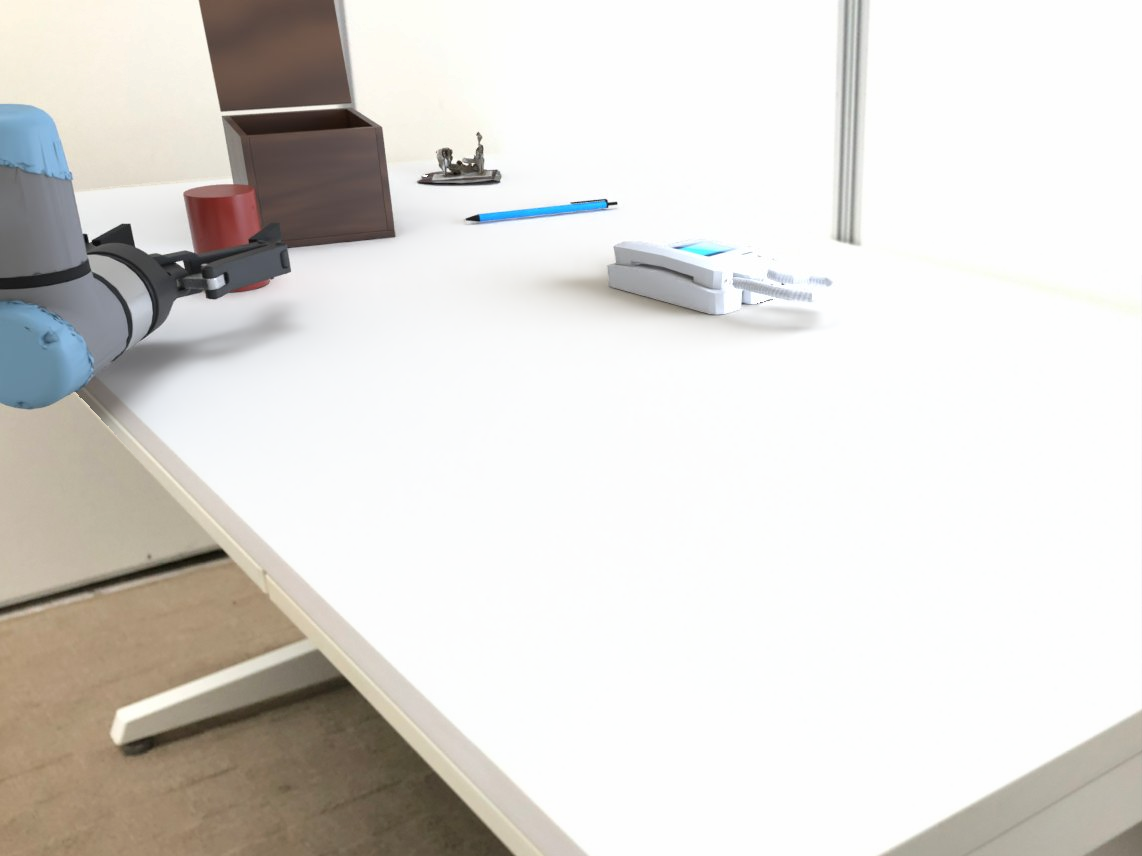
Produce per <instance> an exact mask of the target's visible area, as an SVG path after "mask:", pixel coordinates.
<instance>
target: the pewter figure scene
mask: <svg viewBox="0 0 1142 856" xmlns="http://www.w3.org/2000/svg"><path fill="white" fill-rule="evenodd" d="M475 136H476V139H477V142H478V143H477V148H476V149H475V154H473V158H471V157H463V158H462V159H461V160H460V159H458V160H456V162H455V163H452V162H453V159H454V157H453V152H454V151H453V149H452V148H449V147H442V148H439V149H438V150H436V151H435V154H436V159H437V162H438V168H440V169H441V170H438V171H433V172H428V173H424V174H425V175H428V176H427V177H421V179H418V180H417V183H440V184H441V183H442V184H443V183H447V184H448V183H452V184H454V183H456V184H467V183H468V184H469V183H478V182H479V183H481V182H489V181H496V182H501V179H502V174H501V171H500V170H499V169H486V168H485V158H484V144H481V141H482V139H483V135H482V134H481V133H480V132H479V131H477V132H476V134H475ZM466 164H467V165H466ZM448 170H449V171H448Z"/></svg>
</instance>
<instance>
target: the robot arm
mask: <svg viewBox="0 0 1142 856" xmlns="http://www.w3.org/2000/svg"><path fill="white" fill-rule="evenodd" d="M73 180H74V176H73V172H71V171H70V168H69V164H68V161H67V157H66V154H65V151H64V147H63V143H62V140H61V138H60V134H59V131H58V128H57V125H56V122H55V121H54V119H53V117H52V116H51V115H50V114H49V113H48V112H46V111H45V110H43V109H41V108H39V107H37V106H35V105H31V104H21V103H0V404H1V405H4V406H7V407H11V408H14V409H21V410H28V411H29V410H30V411H31V410H36V409H42V408H47V407H49V406H51V405H54V404H57V402H59V401H61V400H63V399H64V398H66V397H68V396H70V395H72V394H73V393H78V392H79V391H80V390H82V389H83V388H85V387H86V386H87V385H88V383H89V382H90V381H91V380H92V379H93V378H94V377H96V375H97V374H99V373H100V372H101V371H102V370H103V369H104V368H107V367H108V366H109V365H110V364H111V363H113V362H115V361H116V360H117V359H118V358H119V357H120V356H122V355H123V354H124V353H125V352H128V350H130V349H131V348H133V347H134V346H135V345H137V344H138V343H139V342H142V340H144V339H146V338H147V337H148V336H149V335H151V334H152V333H154V332H155V331H156V330H157V329H159V328H160V327H161V326H162V325H163V324H164V323H165V322H166V321H167V319H168V317H169V315H170V313H171V310H172V307H173V305H174V303H175V301H176V300H177V299H179V298H180V299H181V298H183V297H188V296H194V295H197V294H201V293H202V292H203V291H204V293H205V298H206V299H207V300H212V301H213V300H217V299H220V298H222V297H224V296H226V295H227V294H229V293H232V292H231V291H234V290H237V289H240V288H243V287H246V286H249V285H252V284H255V283H258V282H261V281H265V280H268V279H270V280H271V281H272V280H274V279H275V278H277V277H280V276H284V275H287V274H289V273H291V272H292V267H291V261H290V255H289V249H288V248H287V243H285V242H282V236H281V229H280V223H270V224H269V225H267V226H266V227H265V228H263V229H262V230H260V231H259V232H258V233H256V234H255V235H254V236H252V237H251V238H249V239H248V241H249V243H248V244H243V245H239V246H234V247H229V248H224V249H219V250H214V251H209V252H205V253H200V254H196V253H194V251H190V250H180V251H174V252H170V253H164V254H161V253H158V252H154V253H147V252H145V251H144V250H142V249H140V248H138V247H136V244H135V239H134V234H133V229H132V224H131V223H121V224H119V225H116V226H115V227H113V228H112V229H110V230H108V231H106V232H104V233H102V234H100V235H98V236H97V237H94V238H93V239H91V241H90V239H89V236H88V235H89V234H87V233H83V228H82V222H81V220H80V214H79V210H78V204H77V201H76V195H75V190H74V185H73ZM179 262H183V266H181V265H180V264H178V263H179ZM204 289H205V290H204Z"/></svg>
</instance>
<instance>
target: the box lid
mask: <svg viewBox="0 0 1142 856" xmlns="http://www.w3.org/2000/svg"><path fill="white" fill-rule="evenodd" d="M198 5H199V8H200V9H199V10H200V16H201V20H202V25H203V31H204V35H205V41H206V45H207V50H208V55H209V60H210V65H211V70H212V74H213V76H212V77H213V81H214V87H215V90H216V91H215V92H216V96H217V100H218V106H219V111H220V113H226V112H227V113H229V112H245V111H257V110H258V111H261V110H274V109H275V110H276V109H290V108H291V109H292V108H306V107H320V106H321V107H323V106H337V105H338V106H340V105H351V104H352V103H353V101H352V97H351V91H350V85H349V80H348V73H347V67H346V62H345V55H344V50H343V44H342V39H341V33H340V27H339V21H338V17H337V16H338V15H337V11H336V6H335V0H198Z"/></svg>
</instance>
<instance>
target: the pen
mask: <svg viewBox="0 0 1142 856" xmlns="http://www.w3.org/2000/svg"><path fill="white" fill-rule="evenodd" d="M611 206H618V201H610V202H609V200H608V199H607V198H601V199H599V198H598V199H589V200H581V201H571V202H570V203H569V204H561V205H553V206H543V207H533V208H524V209H515V210H514V209H513V210H505V211H504V210H503V211H495V212H485V213H477V214H474V215H472V216H468V217H465V218H463V220H464V221H466V222H467V221H468V222H477V223H480V222H481V223H483V222H490V221H500V220H509V219H510V220H511V219H517V218H518V219H519V218H528V217H538V216H547V215H556V214H564V213H565V214H566V213H573V212H574V213H575V212H583V211H592V210H601V209H608V208H609V207H611Z"/></svg>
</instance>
